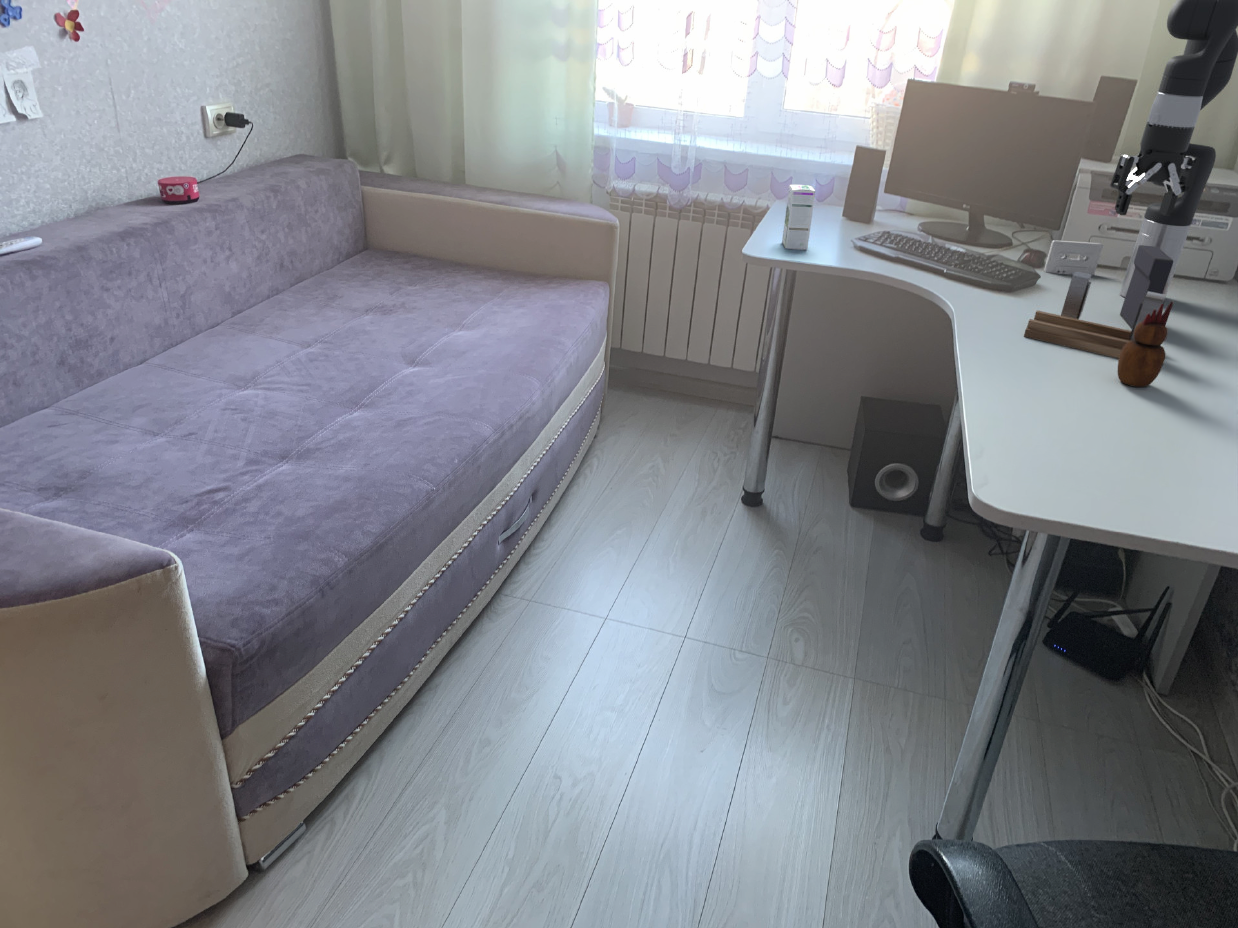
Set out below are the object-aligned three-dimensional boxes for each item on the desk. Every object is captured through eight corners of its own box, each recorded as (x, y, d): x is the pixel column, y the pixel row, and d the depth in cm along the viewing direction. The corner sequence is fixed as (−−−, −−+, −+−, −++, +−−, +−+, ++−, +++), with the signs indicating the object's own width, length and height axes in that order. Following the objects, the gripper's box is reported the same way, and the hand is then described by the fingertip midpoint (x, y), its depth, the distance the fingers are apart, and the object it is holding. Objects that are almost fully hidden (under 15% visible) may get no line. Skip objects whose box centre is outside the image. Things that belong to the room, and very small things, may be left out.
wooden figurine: (1151, 381, 166) (1180, 299, 159) (1156, 393, 161) (1186, 309, 154) (1110, 374, 168) (1137, 293, 160) (1114, 385, 163) (1142, 303, 156)
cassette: (1045, 273, 225) (1054, 241, 221) (1042, 271, 226) (1051, 239, 223) (1095, 276, 225) (1104, 245, 221) (1091, 274, 226) (1101, 242, 223)
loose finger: (1061, 318, 195) (1076, 271, 190) (1079, 321, 193) (1093, 274, 188) (1058, 322, 192) (1072, 275, 187) (1076, 326, 190) (1090, 279, 185)
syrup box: (807, 250, 230) (817, 190, 223) (783, 249, 230) (792, 188, 223) (804, 244, 235) (813, 185, 228) (780, 242, 235) (789, 183, 228)
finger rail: (1034, 323, 190) (1049, 268, 185) (1158, 351, 180) (1179, 293, 174) (1023, 336, 183) (1039, 279, 177) (1152, 366, 172) (1174, 306, 167)
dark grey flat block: (1153, 334, 189) (1178, 261, 182) (1130, 331, 190) (1154, 258, 182) (1137, 316, 198) (1161, 246, 191) (1116, 314, 199) (1139, 244, 192)
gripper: (1195, 119, 168) (1165, 210, 175) (1121, 116, 166) (1094, 208, 174) (1223, 126, 161) (1190, 220, 169) (1146, 124, 159) (1117, 219, 167)
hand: (1142, 214), depth 171 cm, fingers open, 8 cm apart
